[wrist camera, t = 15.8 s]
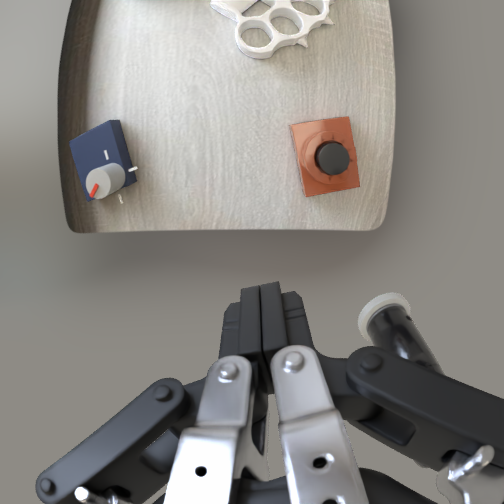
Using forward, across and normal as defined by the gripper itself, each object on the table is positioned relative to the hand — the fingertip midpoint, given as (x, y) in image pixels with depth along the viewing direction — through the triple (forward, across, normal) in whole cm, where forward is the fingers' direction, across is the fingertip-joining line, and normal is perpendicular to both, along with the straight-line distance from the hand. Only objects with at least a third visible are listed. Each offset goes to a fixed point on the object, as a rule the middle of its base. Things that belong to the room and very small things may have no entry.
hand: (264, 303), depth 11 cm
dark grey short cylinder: (+25, -10, -1) cm, 27 cm away
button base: (+29, -10, -1) cm, 31 cm away
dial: (+26, +19, -6) cm, 33 cm away
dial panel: (+29, +20, -8) cm, 36 cm away
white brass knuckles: (+29, -9, -24) cm, 39 cm away
